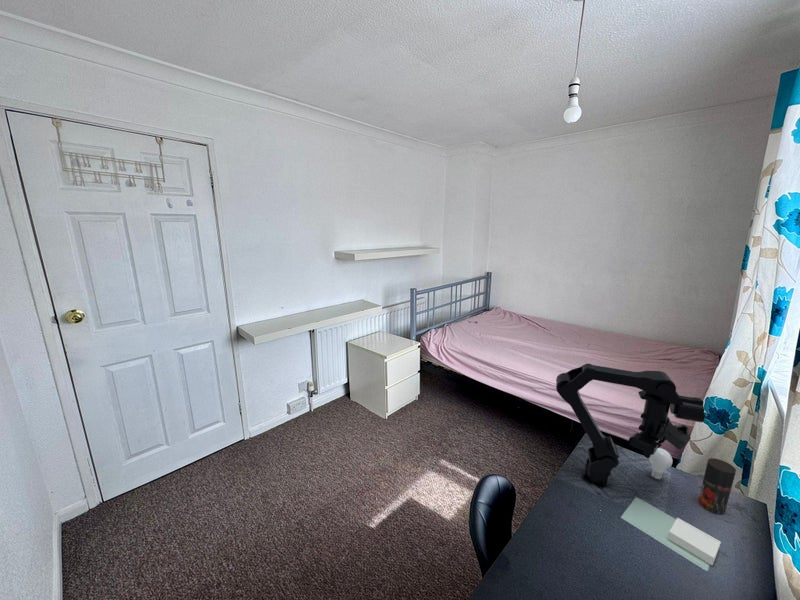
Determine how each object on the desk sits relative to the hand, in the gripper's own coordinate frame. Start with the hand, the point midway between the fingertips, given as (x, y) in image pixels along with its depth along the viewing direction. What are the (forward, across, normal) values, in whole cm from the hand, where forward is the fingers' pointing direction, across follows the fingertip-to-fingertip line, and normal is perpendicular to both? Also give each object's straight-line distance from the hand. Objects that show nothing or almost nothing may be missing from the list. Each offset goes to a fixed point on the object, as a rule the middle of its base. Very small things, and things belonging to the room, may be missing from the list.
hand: (647, 457), depth 101 cm
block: (+11, -10, -10) cm, 18 cm away
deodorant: (+13, +10, -15) cm, 22 cm away
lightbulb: (+13, +11, -1) cm, 17 cm away
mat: (+13, -10, -10) cm, 19 cm away
